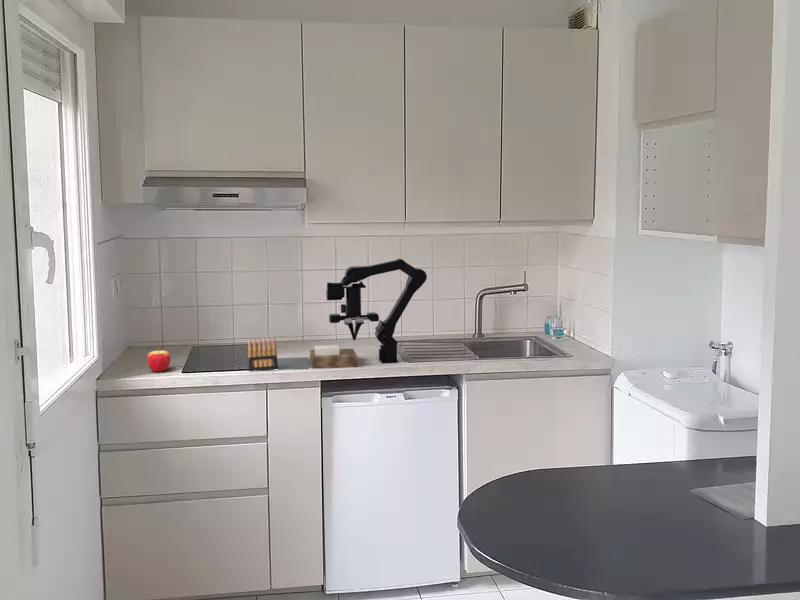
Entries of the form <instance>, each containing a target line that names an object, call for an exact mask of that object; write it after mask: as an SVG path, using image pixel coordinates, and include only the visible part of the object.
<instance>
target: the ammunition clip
mask: <svg viewBox="0 0 800 600" xmlns="http://www.w3.org/2000/svg"><path fill="white" fill-rule="evenodd" d="M247 340H248V341H247V342H248V343H247V354H248V355H247V356H248V359H247V360H248V372H254V370H257V371H267V370H268V371H269V370H273V369H278V362H277V358H278V353H277V352H278V351H277V350H278V349H277V344H276V339H275V336H272V340H271V339H270V337H269V336H268V337H267V343H266V338H265V337H263V338H262V342H261V338H260V337H258V339H257V341H256V339H255V337H254V338H253V340H252V342H251V339H250V338H248V339H247ZM271 341H272V342H271Z"/></svg>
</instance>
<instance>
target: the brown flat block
mask: <svg viewBox="0 0 800 600" xmlns="http://www.w3.org/2000/svg"><path fill="white" fill-rule="evenodd" d="M310 361H311V362H310ZM309 362H310V365H311V369H313V368H318V369H339V368H358V367H359V356H358V354H357V353H356V351H355V349H354V348H339V355H321V356H316V355H315V352H314V349H310V350H309Z"/></svg>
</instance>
